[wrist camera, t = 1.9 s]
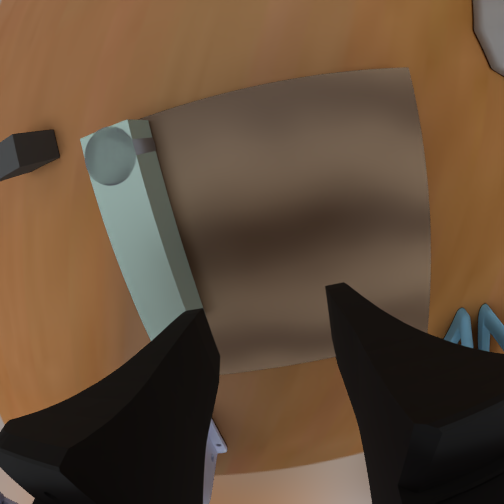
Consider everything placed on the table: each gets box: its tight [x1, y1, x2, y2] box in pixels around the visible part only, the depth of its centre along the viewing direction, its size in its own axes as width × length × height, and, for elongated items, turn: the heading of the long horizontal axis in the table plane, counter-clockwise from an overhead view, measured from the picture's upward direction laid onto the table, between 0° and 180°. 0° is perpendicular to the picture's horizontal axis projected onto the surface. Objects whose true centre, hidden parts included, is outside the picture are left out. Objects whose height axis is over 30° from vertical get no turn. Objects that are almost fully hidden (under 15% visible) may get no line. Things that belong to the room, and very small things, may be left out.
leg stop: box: [0, 130, 60, 181], centre depth 15 cm, size 2×3×4 cm, turn 103°
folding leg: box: [80, 120, 206, 341], centre depth 15 cm, size 11×3×2 cm, turn 13°
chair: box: [444, 304, 504, 352], centre depth 16 cm, size 8×8×12 cm
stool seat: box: [139, 68, 431, 375], centre depth 17 cm, size 16×16×2 cm
